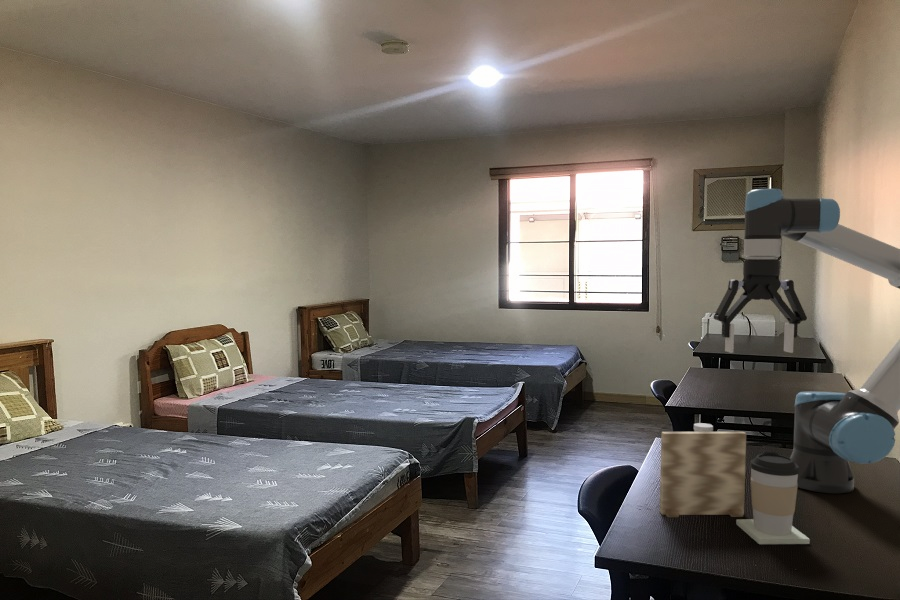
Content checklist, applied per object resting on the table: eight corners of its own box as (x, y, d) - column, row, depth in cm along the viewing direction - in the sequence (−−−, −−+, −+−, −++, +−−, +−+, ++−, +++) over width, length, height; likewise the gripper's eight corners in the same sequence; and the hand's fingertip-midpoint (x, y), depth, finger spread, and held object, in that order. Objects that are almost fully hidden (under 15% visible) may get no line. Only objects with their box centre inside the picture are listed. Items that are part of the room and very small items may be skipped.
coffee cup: (803, 540, 131) (806, 464, 130) (753, 536, 133) (756, 461, 132) (789, 522, 140) (792, 451, 139) (743, 518, 141) (745, 448, 141)
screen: (737, 509, 149) (740, 429, 148) (746, 516, 145) (749, 435, 144) (657, 509, 149) (659, 430, 148) (664, 517, 145) (666, 435, 144)
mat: (783, 523, 141) (783, 519, 141) (809, 543, 131) (809, 538, 131) (736, 524, 141) (736, 519, 141) (759, 544, 131) (759, 539, 131)
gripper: (807, 258, 155) (803, 349, 156) (700, 258, 154) (697, 349, 156) (826, 258, 147) (822, 354, 149) (713, 258, 147) (711, 354, 148)
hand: (758, 352), depth 152 cm, fingers open, 13 cm apart
